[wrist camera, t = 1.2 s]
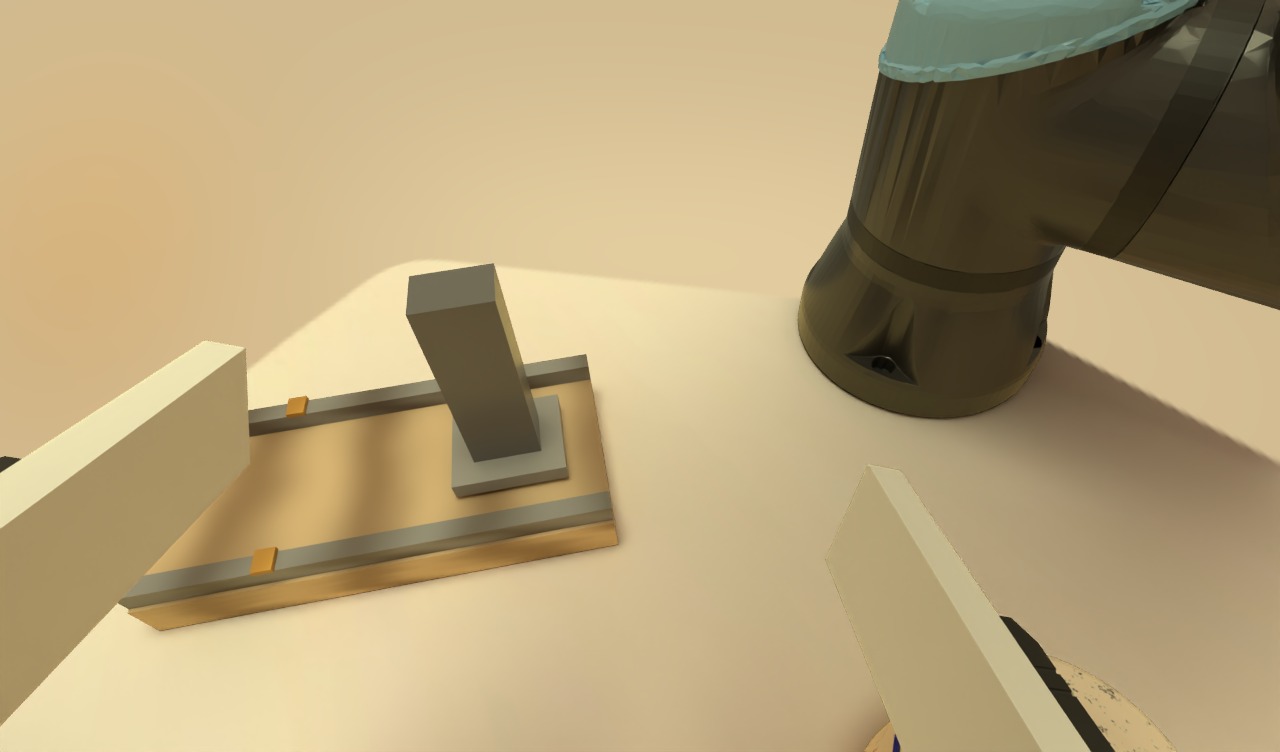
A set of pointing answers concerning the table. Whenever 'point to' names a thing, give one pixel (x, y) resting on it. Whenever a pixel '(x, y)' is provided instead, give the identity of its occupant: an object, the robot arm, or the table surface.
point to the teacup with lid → (1115, 716)
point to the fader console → (373, 505)
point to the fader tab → (484, 383)
